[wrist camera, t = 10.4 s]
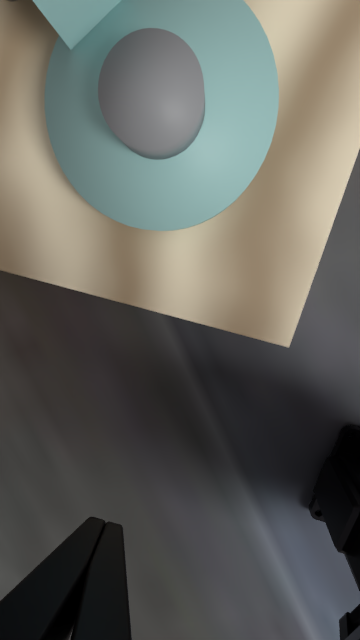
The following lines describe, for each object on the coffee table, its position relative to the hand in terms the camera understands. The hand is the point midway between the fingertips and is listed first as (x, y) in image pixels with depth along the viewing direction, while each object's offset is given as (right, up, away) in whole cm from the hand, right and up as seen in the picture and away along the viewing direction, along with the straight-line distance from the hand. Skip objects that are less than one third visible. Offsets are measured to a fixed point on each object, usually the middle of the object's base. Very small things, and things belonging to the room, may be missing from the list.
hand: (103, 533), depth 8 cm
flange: (-1, +17, +7) cm, 18 cm away
